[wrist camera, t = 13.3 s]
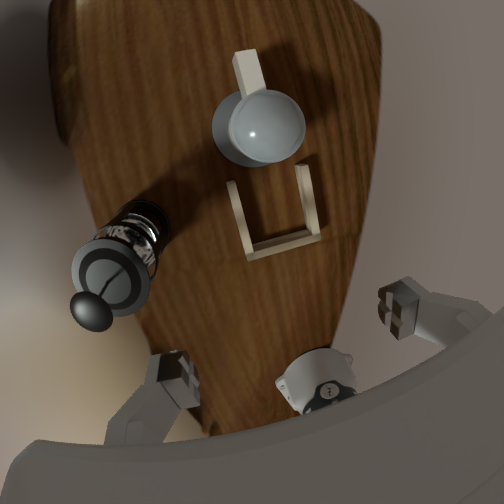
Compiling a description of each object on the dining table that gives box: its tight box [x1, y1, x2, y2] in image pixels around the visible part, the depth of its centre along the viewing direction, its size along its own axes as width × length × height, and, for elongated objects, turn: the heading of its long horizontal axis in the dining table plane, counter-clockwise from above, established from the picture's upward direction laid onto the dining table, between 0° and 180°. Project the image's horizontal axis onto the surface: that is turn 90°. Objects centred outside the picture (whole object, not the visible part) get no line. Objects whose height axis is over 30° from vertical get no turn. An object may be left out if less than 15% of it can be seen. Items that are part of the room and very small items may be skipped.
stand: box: [226, 163, 321, 261], centre depth 41 cm, size 12×12×3 cm
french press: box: [70, 200, 171, 332], centre depth 30 cm, size 12×9×23 cm
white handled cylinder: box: [226, 49, 306, 163], centre depth 31 cm, size 14×8×10 cm, turn 13°
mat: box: [212, 90, 273, 167], centre depth 37 cm, size 12×12×1 cm
